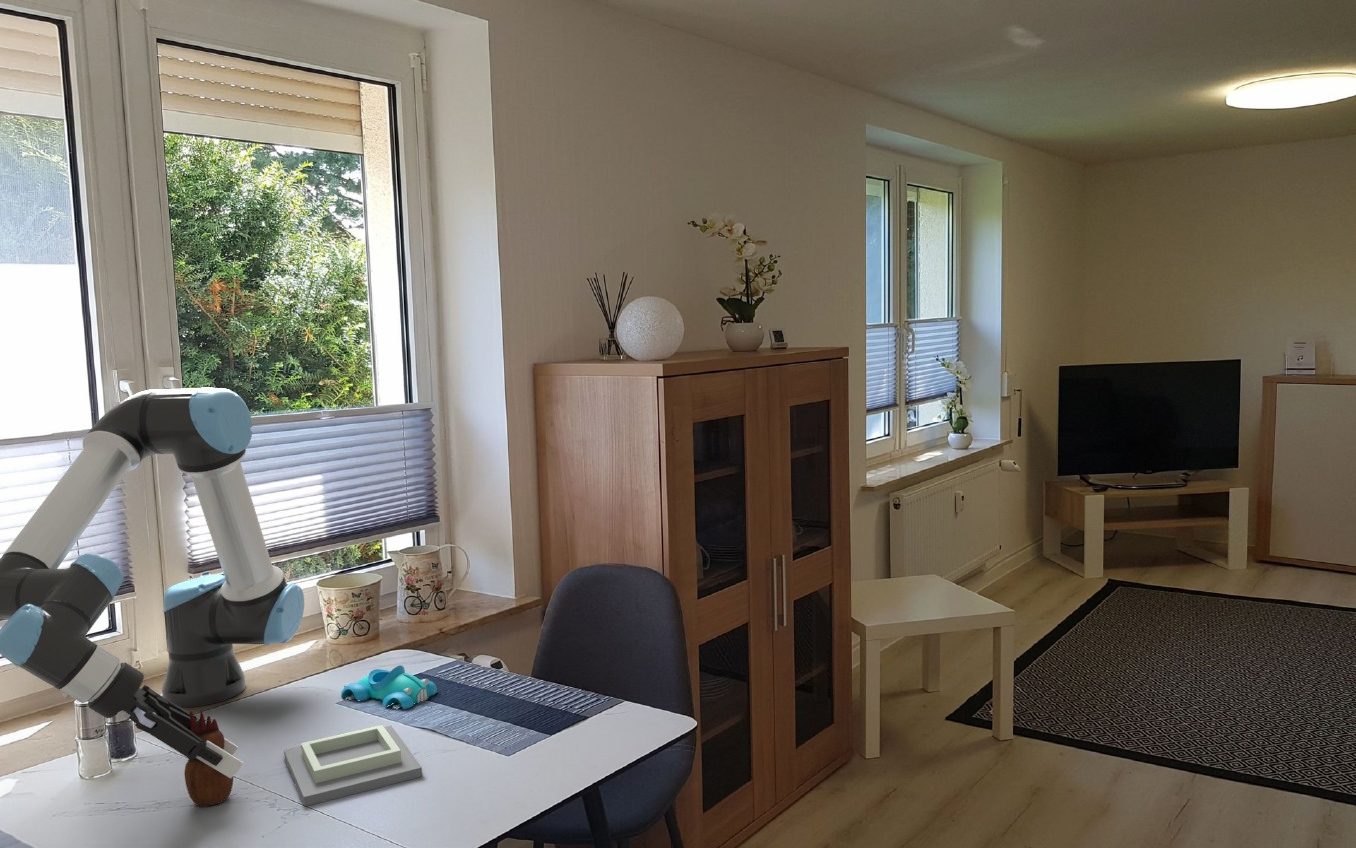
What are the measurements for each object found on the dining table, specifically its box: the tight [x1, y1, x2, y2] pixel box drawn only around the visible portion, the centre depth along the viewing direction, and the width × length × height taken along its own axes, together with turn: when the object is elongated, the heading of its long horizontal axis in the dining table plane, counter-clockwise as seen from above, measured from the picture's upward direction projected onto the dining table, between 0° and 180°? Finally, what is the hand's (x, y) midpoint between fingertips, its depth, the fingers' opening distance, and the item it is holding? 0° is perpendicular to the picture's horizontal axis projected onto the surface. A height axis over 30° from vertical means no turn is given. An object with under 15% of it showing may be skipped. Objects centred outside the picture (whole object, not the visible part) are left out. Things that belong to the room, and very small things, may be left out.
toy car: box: [340, 664, 438, 710], centre depth 198 cm, size 11×18×7 cm, turn 64°
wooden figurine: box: [184, 710, 234, 807], centre depth 155 cm, size 7×6×15 cm
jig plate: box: [283, 724, 423, 807], centre depth 166 cm, size 20×18×4 cm
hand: (234, 762), depth 157 cm, fingers open, 6 cm apart
